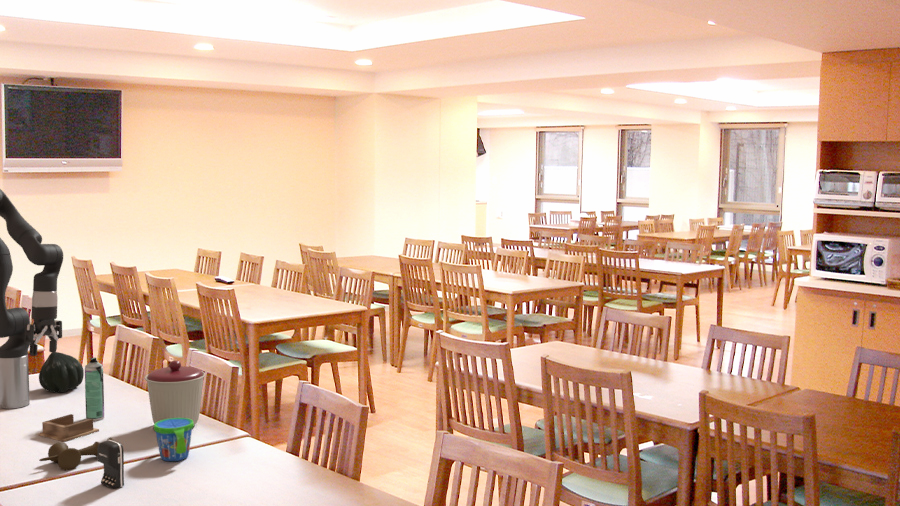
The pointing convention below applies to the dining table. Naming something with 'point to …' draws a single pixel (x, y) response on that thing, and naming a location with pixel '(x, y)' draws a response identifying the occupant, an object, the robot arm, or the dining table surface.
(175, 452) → the snack cup
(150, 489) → the dining table surface
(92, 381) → the spray can
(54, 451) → the kendama
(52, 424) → the keeper cradle
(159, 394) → the canister
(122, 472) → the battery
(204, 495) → the dining table surface
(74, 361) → the squash
